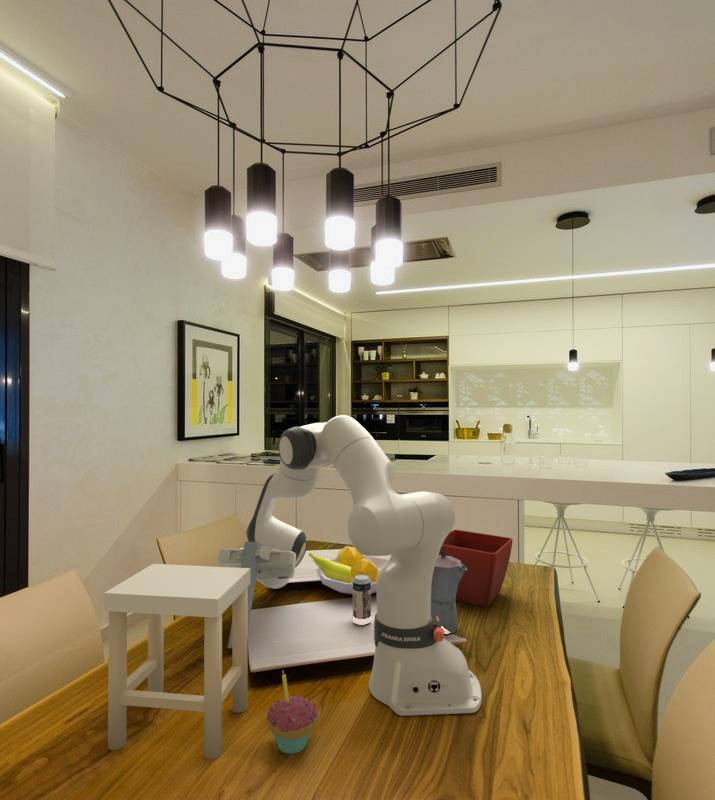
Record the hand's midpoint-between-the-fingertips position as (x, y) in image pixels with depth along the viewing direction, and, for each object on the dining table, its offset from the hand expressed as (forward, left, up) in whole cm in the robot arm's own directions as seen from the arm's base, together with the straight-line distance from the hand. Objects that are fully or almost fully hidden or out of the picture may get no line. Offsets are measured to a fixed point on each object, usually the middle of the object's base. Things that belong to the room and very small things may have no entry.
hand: (249, 552), depth 121 cm
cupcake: (-21, +36, -21) cm, 47 cm away
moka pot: (-47, -11, -21) cm, 53 cm away
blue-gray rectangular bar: (0, +1, -10) cm, 10 cm away
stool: (0, +34, -21) cm, 40 cm away
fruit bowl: (-22, -36, -21) cm, 47 cm away
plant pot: (-58, -33, -21) cm, 70 cm away
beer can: (-27, -11, -21) cm, 36 cm away
